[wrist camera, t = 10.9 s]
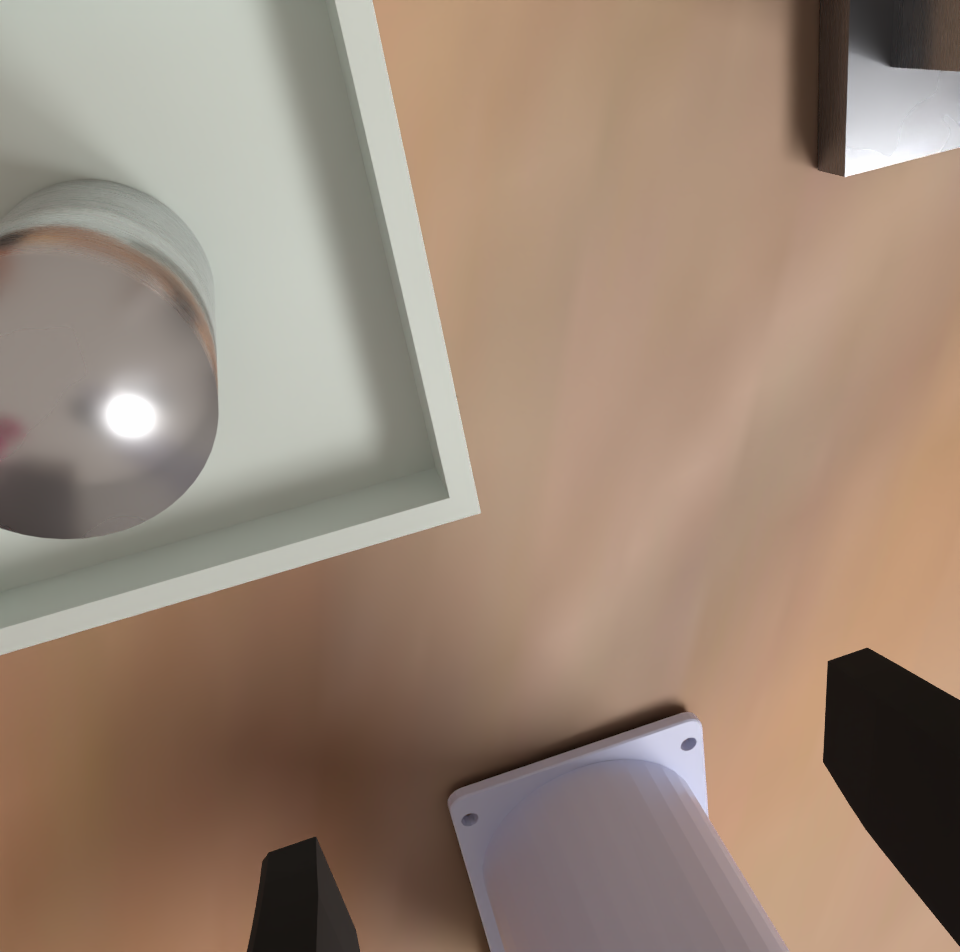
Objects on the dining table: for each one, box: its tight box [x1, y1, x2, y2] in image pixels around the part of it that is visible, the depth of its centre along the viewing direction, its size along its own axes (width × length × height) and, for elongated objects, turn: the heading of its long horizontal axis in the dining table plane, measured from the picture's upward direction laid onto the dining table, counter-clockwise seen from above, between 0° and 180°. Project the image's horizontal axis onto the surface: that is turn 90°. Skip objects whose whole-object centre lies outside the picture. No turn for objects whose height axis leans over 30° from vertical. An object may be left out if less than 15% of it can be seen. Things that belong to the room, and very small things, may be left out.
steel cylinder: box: [0, 179, 219, 539], centre depth 14 cm, size 4×4×6 cm
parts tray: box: [0, 0, 481, 655], centre depth 16 cm, size 12×12×2 cm
